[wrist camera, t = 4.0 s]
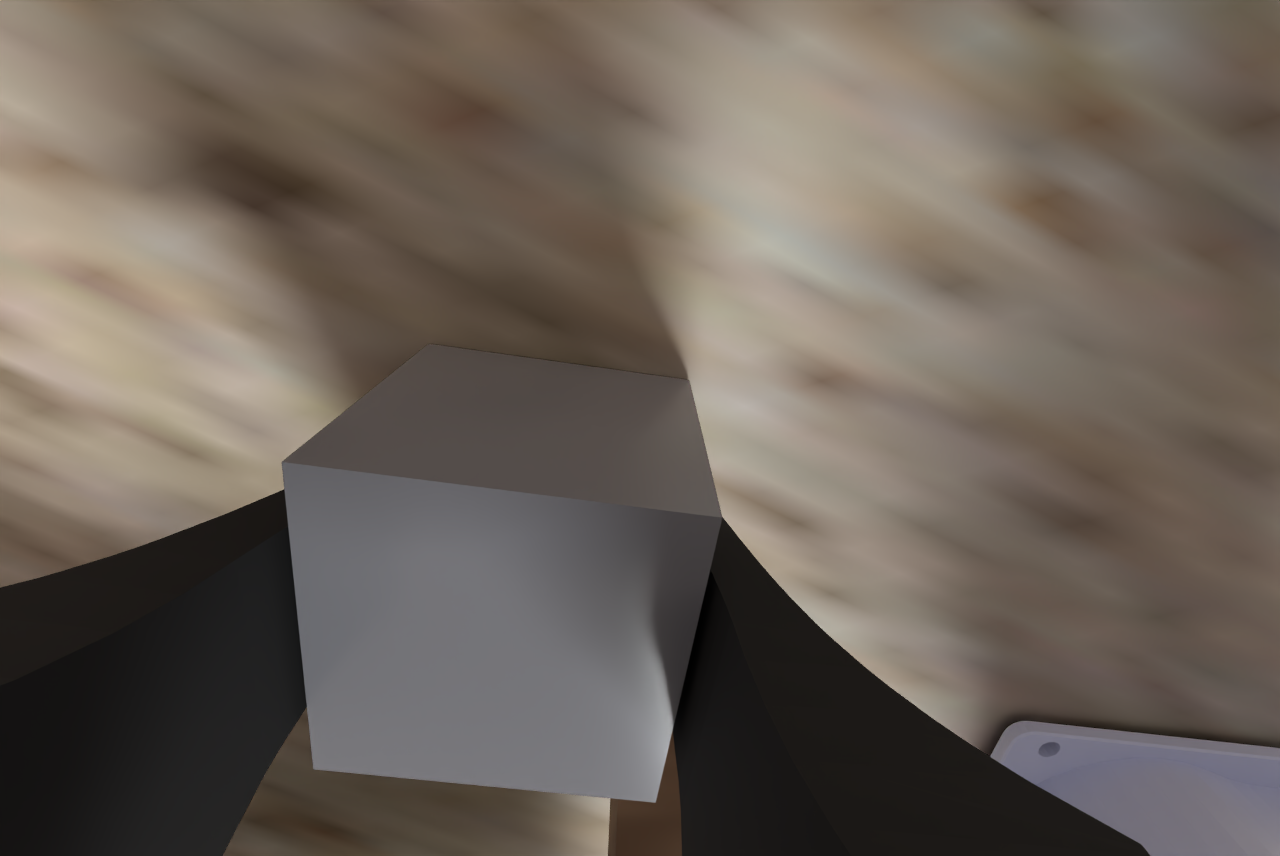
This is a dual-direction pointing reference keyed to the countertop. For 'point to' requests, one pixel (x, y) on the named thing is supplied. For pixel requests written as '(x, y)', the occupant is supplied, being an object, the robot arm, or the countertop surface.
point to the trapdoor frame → (649, 819)
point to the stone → (502, 573)
